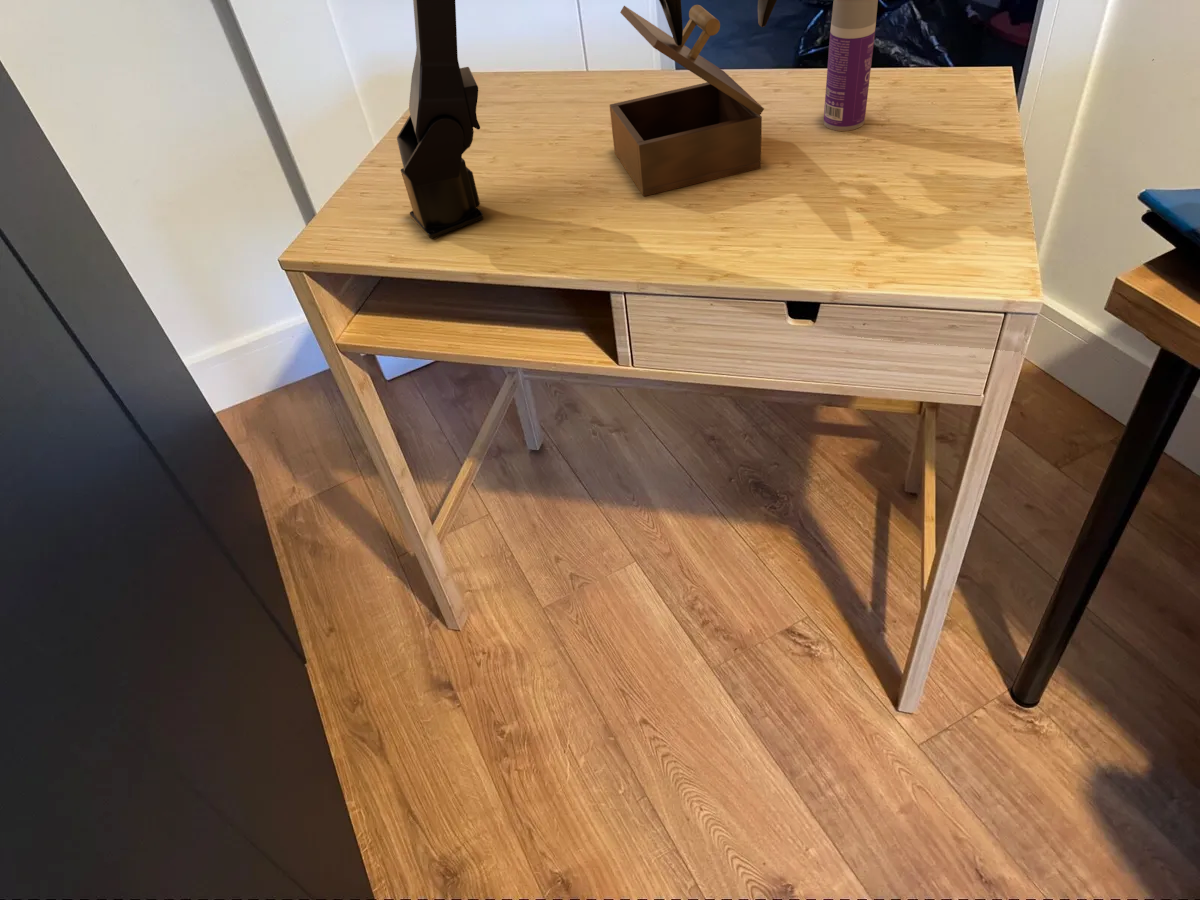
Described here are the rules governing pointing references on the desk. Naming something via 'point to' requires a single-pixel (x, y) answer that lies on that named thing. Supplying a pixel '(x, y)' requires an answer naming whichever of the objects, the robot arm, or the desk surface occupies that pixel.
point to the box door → (693, 51)
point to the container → (849, 63)
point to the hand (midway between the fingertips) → (720, 34)
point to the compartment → (685, 137)
